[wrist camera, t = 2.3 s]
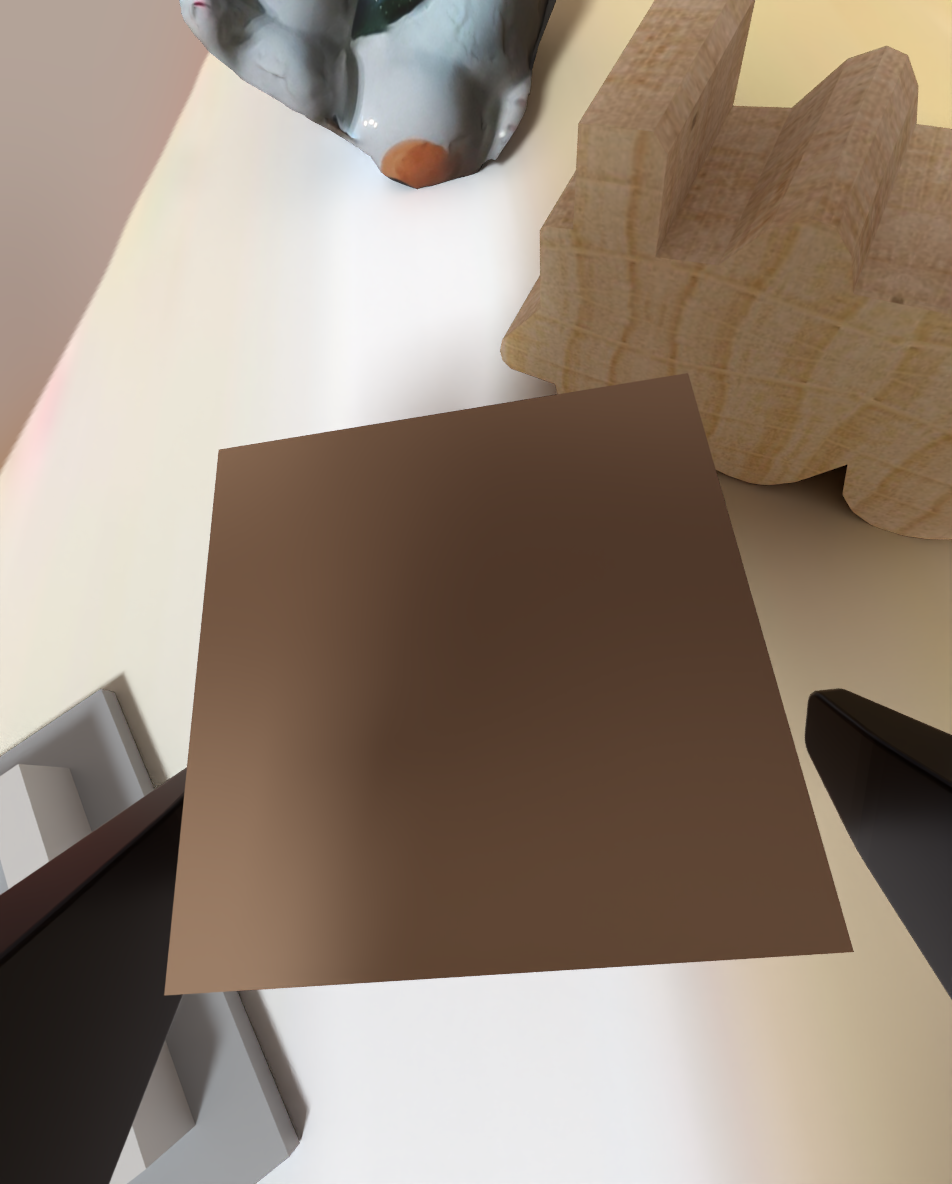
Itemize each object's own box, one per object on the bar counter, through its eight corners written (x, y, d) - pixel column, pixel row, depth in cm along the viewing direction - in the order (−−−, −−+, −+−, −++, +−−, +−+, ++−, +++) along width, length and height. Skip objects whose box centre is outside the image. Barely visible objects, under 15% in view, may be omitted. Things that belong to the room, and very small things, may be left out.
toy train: (567, 304, 23) (572, -44, 13) (1062, 429, 18) (1600, 26, 9) (508, 411, 21) (467, 103, 12) (1031, 576, 16) (1637, 281, 7)
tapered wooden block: (632, 842, 15) (853, 952, 4) (452, 857, 16) (164, 995, 4) (601, 664, 17) (688, 372, 6) (441, 683, 18) (218, 449, 6)
